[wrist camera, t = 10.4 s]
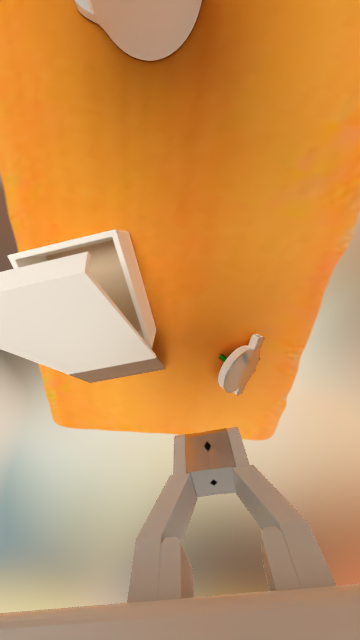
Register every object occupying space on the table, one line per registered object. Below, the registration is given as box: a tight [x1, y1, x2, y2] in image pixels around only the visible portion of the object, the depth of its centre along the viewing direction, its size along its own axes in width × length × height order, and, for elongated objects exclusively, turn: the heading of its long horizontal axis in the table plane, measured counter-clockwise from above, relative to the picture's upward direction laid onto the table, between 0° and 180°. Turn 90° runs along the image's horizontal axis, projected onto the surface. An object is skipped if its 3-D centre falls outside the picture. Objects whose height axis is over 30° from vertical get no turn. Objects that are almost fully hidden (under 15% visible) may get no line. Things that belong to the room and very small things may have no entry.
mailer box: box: [8, 229, 157, 348], centre depth 36 cm, size 20×17×8 cm
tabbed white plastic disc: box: [218, 334, 264, 395], centre depth 42 cm, size 15×8×11 cm
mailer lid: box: [0, 252, 165, 383], centre depth 31 cm, size 30×17×3 cm
